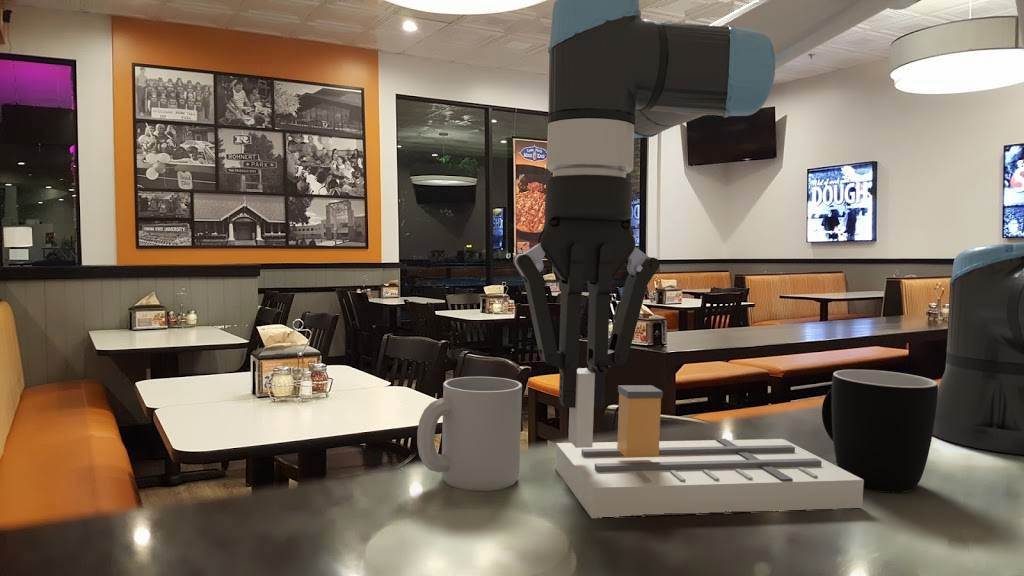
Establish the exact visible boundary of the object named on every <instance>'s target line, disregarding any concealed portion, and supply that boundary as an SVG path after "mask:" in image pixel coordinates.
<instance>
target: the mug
mask: <svg viewBox="0 0 1024 576" xmlns="http://www.w3.org/2000/svg"><path fill="white" fill-rule="evenodd" d="M831 380H832V381H831V389H829V390H828V392H827V393H826V395H825V396H824V399H823V402H822V405H821V420H822V423H823V427H824V429H825V431H826V434H827V436H828V437H829V439H831V441H832V442H833V449H834V457H835V460H836V466H837V467H839V468H841V469H843V470H845V471H847V472H849V473H851V474H853V475H855V476H857V477H859V478H861V479H863V480H864V484H863V489H865V490H870V491H875V492H880V493H881V492H883V493H894V494H895V493H898V494H899V493H908V492H911V491H913V490H914V489H915V488H916V487H917V486H918V484H919V483H920V481H921V480H922V478H923V474H924V472H925V468H926V465H927V462H928V457H929V454H930V453H929V452H930V449H931V446H932V445H931V444H932V439H933V435H932V434H933V428H934V422H935V415H936V407H937V396H938V386H939V384H938V383H937V381H935V380H934V379H931V378H927V377H924V376H919V375H914V374H909V373H902V372H896V371H895V372H894V371H887V370H877V369H842V370H836V371H834V372H833V374H832V379H831Z"/></svg>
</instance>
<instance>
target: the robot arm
mask: <svg viewBox="0 0 1024 576" xmlns="http://www.w3.org/2000/svg"><path fill="white" fill-rule="evenodd" d="M921 1H922V0H754V1H752V2H750V3H748V4H746V5H745V6H742V7H741V8H739V9H737V10H734V11H733V12H731V13H730V14H728V15H726V16H724V17H722V18H720V19H718V20H717V21H715V22H713V23H711V24H709V25H707V24H694V23H682V22H681V23H679V22H667V21H665V22H664V21H657V20H656V21H655V20H652V19H644V18H642V17H641V16H642V11H641V10H640V1H639V0H555V1H554V2H553V3H554V4H553V8H552V14H551V15H552V16H551V25H550V26H551V27H550V36H549V46H548V47H547V52H548V54H549V59H548V61H549V62H548V63H549V65H548V68H549V69H548V116H547V117H548V118H547V137H546V138H547V140H546V142H547V143H546V160H545V161H546V162H545V163H546V165H545V168H546V170H548V171H549V172H550V173H552V176H550V177H548V178H547V180H546V181H545V191H544V196H545V197H544V198H545V199H544V222H543V223H544V225H543V228H542V231H541V232H540V234H539V236H538V239H537V244H536V245H534V246H532V247H531V248H529V249H528V250H527V251H525V252H523V253H518V254H516V255H514V256H513V259H512V263H513V265H514V266H515V268H516V270H517V272H518V273H519V275H520V276H521V278H522V279H523V282H524V288H525V291H526V292H525V293H526V296H527V297H526V298H527V303H528V307H529V312H530V317H531V321H532V325H533V331H534V336H535V340H536V345H537V351H538V355H539V357H540V359H541V360H542V361H544V362H545V363H546V364H547V365H549V366H554V367H556V368H558V371H559V380H558V381H559V383H558V385H559V386H558V388H559V389H558V392H559V393H558V400H559V403H560V405H561V406H562V407H563V408H564V409H568V408H569V409H568V411H569V412H568V413H569V414H568V436H567V437H568V438H567V439H568V441H569V443H572V444H573V445H574V446H575V447H576V448H588V447H592V444H593V443H594V438H593V437H594V432H593V431H594V409H595V408H603V406H604V404H605V400H606V399H605V398H606V396H605V395H606V393H605V392H606V374H607V373H608V372H610V370H611V368H614V367H615V366H616V367H617V366H618V365H619V366H622V365H624V364H626V363H627V361H628V358H629V355H630V351H631V348H632V343H633V339H634V337H635V333H636V329H637V325H638V321H639V317H640V314H641V311H642V306H643V303H644V300H645V295H646V292H647V288H648V285H649V283H650V281H651V280H652V278H653V277H654V276H655V274H656V273H657V271H658V270H659V268H660V265H661V264H660V263H661V262H660V260H658V258H656V257H650V256H648V255H647V254H646V253H644V252H643V251H642V250H641V249H639V248H638V247H636V239H635V236H634V235H633V232H632V228H631V223H632V207H633V182H631V179H630V178H627V174H630V173H631V172H632V171H634V154H635V153H634V151H635V150H634V148H635V138H636V139H640V138H653V137H655V136H656V135H659V134H660V133H662V132H665V131H667V130H670V129H671V128H674V127H676V126H680V125H683V124H685V123H688V122H690V121H693V120H695V119H698V118H701V117H703V116H720V117H722V118H728V117H742V116H743V117H747V116H752V115H754V114H755V113H757V112H758V111H759V110H761V108H762V107H763V106H764V105H765V104H766V102H767V100H768V98H769V95H770V93H771V91H772V88H773V85H774V80H775V75H776V70H777V69H779V68H780V67H783V66H784V65H786V64H788V63H790V62H792V61H794V60H796V59H797V58H799V57H801V56H802V55H805V54H806V53H808V52H810V51H812V50H814V49H815V48H817V47H819V46H821V45H823V44H825V43H826V42H828V41H830V40H832V39H834V38H835V37H838V36H840V35H842V34H844V33H845V32H847V31H849V30H851V29H853V28H854V27H856V26H858V25H860V24H861V23H864V22H865V21H867V20H869V19H871V18H872V17H874V16H876V15H878V14H879V13H881V12H884V11H885V10H887V9H890V10H894V11H898V10H905V9H908V8H910V7H911V6H914V5H915V4H917V3H919V2H921ZM1014 1H1015V7H1016V12H1017V13H1016V14H1017V17H1018V24H1019V29H1020V36H1021V42H1022V48H1023V50H1024V0H1014ZM544 257H545V259H546V260H547V262H548V263H549V265H550V266H551V268H552V269H553V270H554V271H553V272H555V274H556V275H557V276H558V278H559V279H560V280H559V290H560V310H559V311H560V312H559V313H560V314H559V315H560V316H559V340H558V341H559V345H558V347H557V343H556V337H555V332H554V328H553V323H552V319H551V313H550V307H549V304H548V299H547V293H546V289H545V285H544V280H543V278H542V275H541V272H542V271H543V270H544V267H545V266H544V262H543V258H544ZM626 262H627V266H626V269H627V272H628V275H627V277H626V280H625V283H624V286H623V290H622V292H621V293H622V294H621V298H620V301H619V305H618V308H617V312H616V315H615V319H614V323H613V326H612V331H611V335H610V338H609V331H610V329H609V328H610V327H609V326H610V301H611V299H610V298H611V294H612V290H613V289H612V288H613V279H614V278H615V276H616V275H617V273H618V272H619V271H620V270H621V268H622V267H624V264H625V263H626ZM585 282H586V283H587V291H588V309H587V311H588V312H587V313H588V316H587V345H586V346H587V347H586V348H587V349H586V363H587V367H584V368H583V367H582V368H581V367H579V366H580V364H579V363H580V337H581V312H582V311H581V309H582V308H581V307H582V294H583V291H584V283H585ZM948 297H949V298H948V318H947V319H948V320H947V321H948V322H947V339H946V340H947V341H946V357H945V358H946V359H945V369H944V372H943V375H942V376H941V379H940V382H939V384H938V396H937V407H936V415H935V422H934V428H933V434H932V436H935V437H937V438H939V439H942V440H944V441H948V442H951V443H955V444H958V445H961V446H966V447H970V448H975V449H979V450H986V451H991V452H999V453H1006V454H1014V455H1021V456H1022V455H1023V456H1024V242H1017V243H1001V244H992V245H989V244H988V245H984V246H983V245H982V246H976V247H971V248H968V249H964V250H962V251H960V252H959V253H958V254H957V255H956V256H955V258H954V260H953V265H952V271H951V278H950V279H949V295H948Z"/></svg>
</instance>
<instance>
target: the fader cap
mask: <svg viewBox="0 0 1024 576" xmlns="http://www.w3.org/2000/svg"><path fill="white" fill-rule="evenodd" d="M617 392H618V416H617V417H618V421H617V441H616V442H617V450H618V451H620V452H621V453H622V454H623V455H624V456H625V457H626V458H635V457H659V441H660V433H661V408H662V399H663V398H664V392H663V390H661V389H659V388H657V387H655V386H654V385H651V384H650V385H649V384H648V385H645V384H643V385H642V384H640V385H639V384H638V385H636V384H635V385H633V384H631V385H628V384H626V385H624V384H623V385H617Z"/></svg>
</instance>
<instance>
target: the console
mask: <svg viewBox="0 0 1024 576" xmlns="http://www.w3.org/2000/svg"><path fill="white" fill-rule="evenodd" d="M554 464H555V468H554V469H555V470H556V472H557V473H558V474H559V476H560V477H561V478H562V479H563V481H564V482H565V484H566V485H567V487H568V488H569V490H571V492H572V493H573V495H574V496H575V497H576V498H575V499H577V500H578V502H579V503H580V504H581V506H582V507H583V508H584V510H585V511H586V512H587V514H588V515H589V517H590V518H591V519H603V518H602V517H614V518H620V517H619V516H631V515H634V516H635V515H643V514H664V513H700V512H701V513H709V512H725V511H727V512H728V511H729V512H731V511H746V510H747V511H753V510H754V511H774V510H775V511H779V510H780V511H779V512H789V511H788V510H801V509H802V510H803V509H832V508H833V510H837V509H836V508H861V509H863V500H864V499H863V497H864V488H863V484H864V480H863V479H861V478H859V477H857V476H855V475H853V474H851V473H849V472H847V471H845V470H843V469H841V468H839V467H838V466H837V465H835V464H833V463H831V462H830V461H827V460H825V459H824V458H822V457H820V456H817V455H815V454H814V453H811V452H810V451H807V450H806V449H804V448H801V447H800V446H798V445H796V444H794V443H793V442H790V441H788V440H786V439H784V438H770V439H769V438H764V439H763V438H762V439H758V438H757V439H727V438H716V439H712V440H710V439H706V440H703V439H702V440H662V441H661V440H659V457H635V458H626V457H625V456H624V455H623V454H622V453H621V452H620V451H618V450H617V441H609V442H608V441H605V442H601V441H600V442H599V441H598V442H594V441H593V444H592V447H588V448H576V447H575V446H574V445H573V444H572V443H571V442H556V443H555V463H554ZM834 508H835V509H834ZM781 510H782V511H781ZM783 510H785V511H783ZM786 510H787V511H786ZM615 516H616V517H615ZM598 517H599V518H598Z"/></svg>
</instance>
